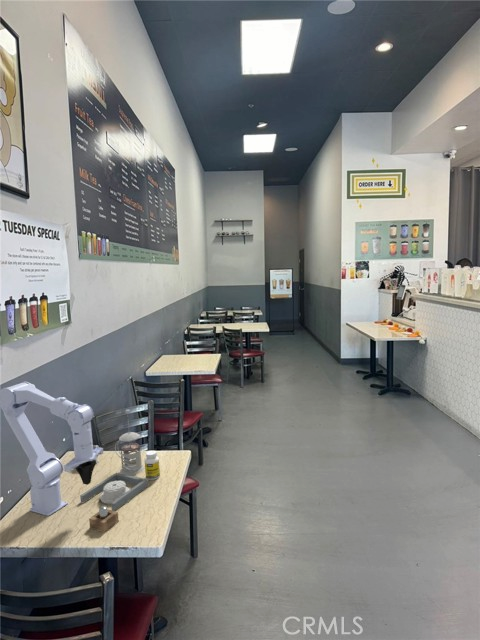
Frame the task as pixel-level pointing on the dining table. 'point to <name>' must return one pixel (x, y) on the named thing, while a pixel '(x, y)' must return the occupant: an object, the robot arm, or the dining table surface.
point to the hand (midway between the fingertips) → (86, 483)
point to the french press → (133, 465)
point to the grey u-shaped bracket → (137, 481)
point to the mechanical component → (113, 491)
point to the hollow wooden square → (103, 521)
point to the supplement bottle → (152, 465)
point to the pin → (103, 512)
